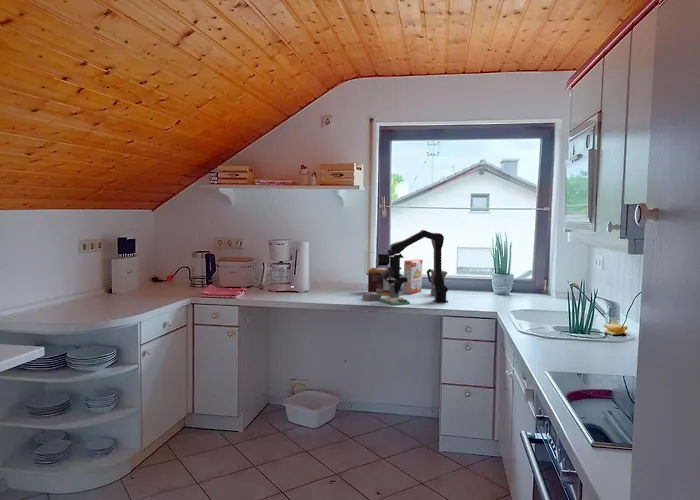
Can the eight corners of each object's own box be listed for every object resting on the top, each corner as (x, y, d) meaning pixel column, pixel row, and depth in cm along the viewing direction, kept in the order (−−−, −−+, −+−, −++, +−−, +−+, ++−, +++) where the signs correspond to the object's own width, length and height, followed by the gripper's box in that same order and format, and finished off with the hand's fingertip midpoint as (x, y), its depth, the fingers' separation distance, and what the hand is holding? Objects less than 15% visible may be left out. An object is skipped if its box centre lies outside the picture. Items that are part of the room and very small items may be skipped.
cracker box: (411, 294, 314) (411, 261, 312) (402, 293, 318) (403, 260, 316) (422, 291, 325) (423, 259, 323) (413, 290, 329) (414, 258, 327)
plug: (398, 296, 287) (399, 284, 287) (392, 297, 285) (392, 284, 284) (395, 295, 291) (395, 283, 290) (388, 296, 289) (388, 283, 288)
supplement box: (367, 291, 322) (368, 267, 320) (392, 292, 321) (392, 267, 320) (367, 294, 312) (368, 269, 310) (392, 295, 311) (393, 270, 310)
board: (409, 304, 284) (409, 298, 283) (393, 305, 279) (393, 299, 279) (394, 299, 298) (394, 293, 298) (378, 300, 293) (378, 294, 293)
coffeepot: (451, 295, 312) (452, 266, 310) (441, 297, 305) (442, 268, 303) (430, 292, 323) (431, 264, 321) (421, 294, 316) (422, 265, 315)
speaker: (380, 300, 294) (381, 293, 293) (368, 301, 290) (368, 294, 290) (374, 297, 301) (374, 291, 301) (362, 298, 297) (362, 292, 297)
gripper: (374, 264, 291) (373, 291, 293) (391, 268, 275) (390, 296, 276) (390, 263, 296) (390, 289, 298) (408, 267, 280) (407, 295, 281)
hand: (394, 292), depth 288 cm, fingers closed on plug, 4 cm apart
